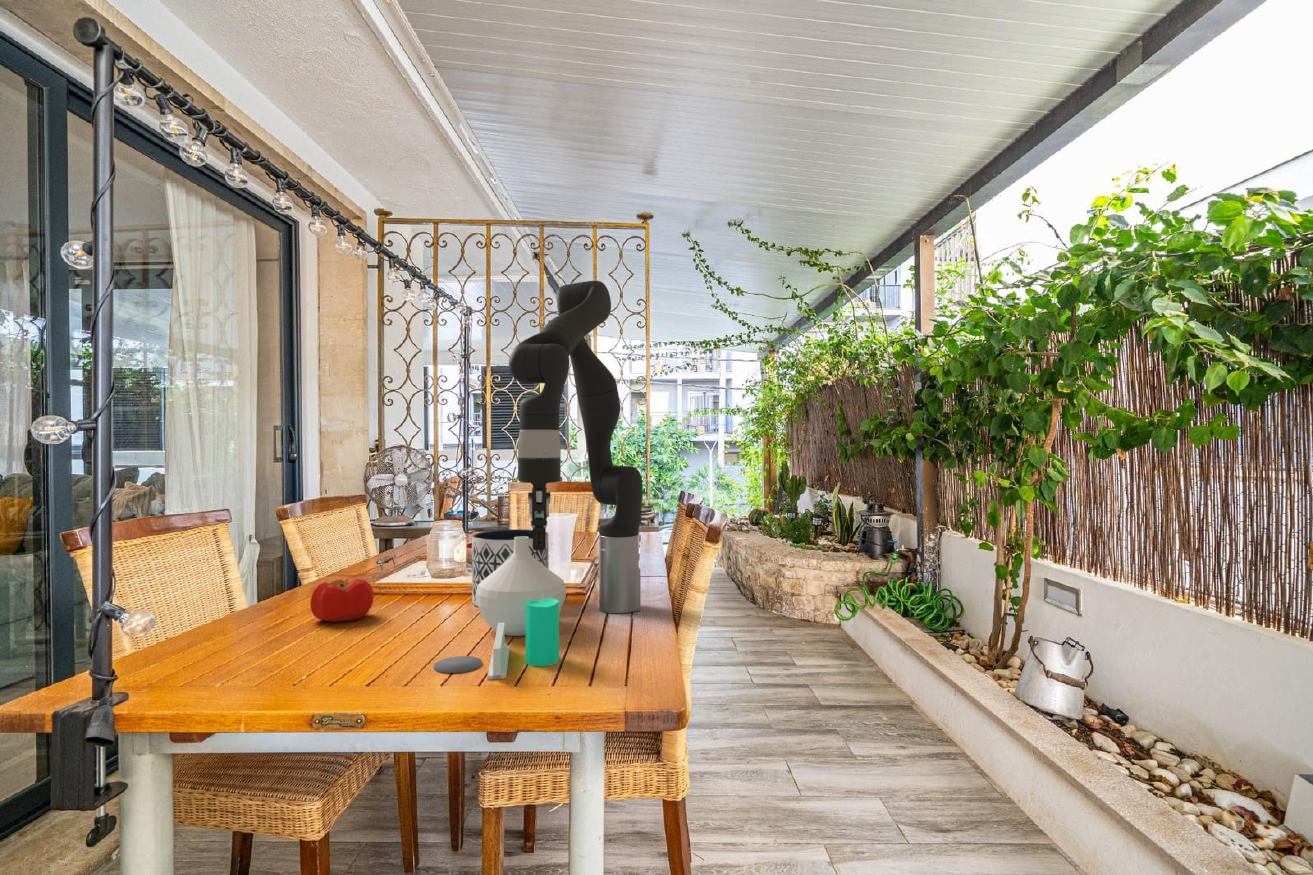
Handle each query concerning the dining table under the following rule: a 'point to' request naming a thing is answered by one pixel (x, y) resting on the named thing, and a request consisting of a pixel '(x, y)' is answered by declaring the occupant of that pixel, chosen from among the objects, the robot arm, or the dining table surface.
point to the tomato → (341, 600)
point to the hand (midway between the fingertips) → (539, 546)
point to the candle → (542, 632)
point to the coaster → (458, 664)
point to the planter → (499, 553)
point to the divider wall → (499, 655)
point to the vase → (517, 589)
